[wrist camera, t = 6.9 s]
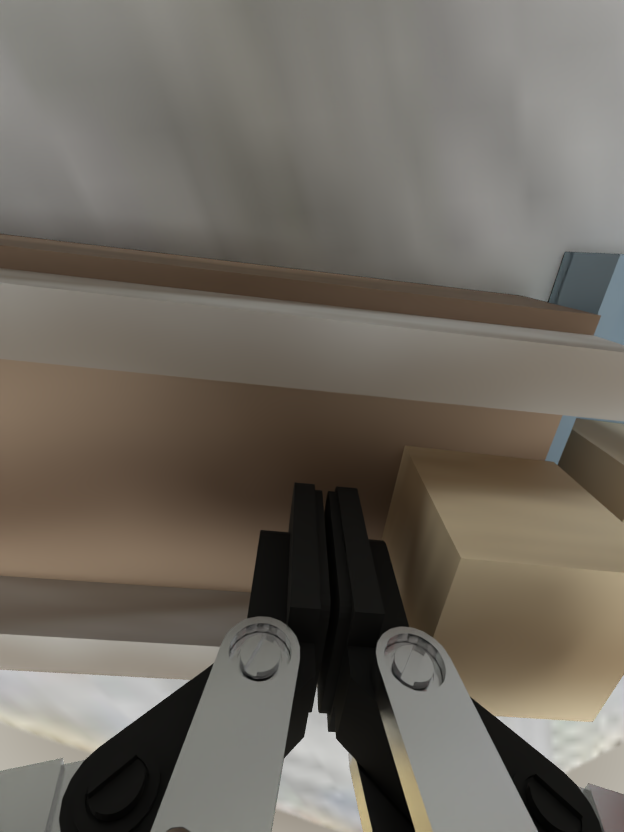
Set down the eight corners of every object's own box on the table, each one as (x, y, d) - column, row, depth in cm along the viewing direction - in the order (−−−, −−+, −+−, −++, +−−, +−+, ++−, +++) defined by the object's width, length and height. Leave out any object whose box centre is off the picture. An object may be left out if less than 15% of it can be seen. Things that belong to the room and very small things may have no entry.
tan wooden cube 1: (404, 445, 11) (461, 557, 7) (553, 461, 12) (686, 578, 8) (375, 565, 13) (407, 710, 9) (505, 577, 13) (592, 721, 9)
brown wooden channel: (-173, 213, 12) (-558, 190, 7) (521, 295, 14) (667, 331, 8) (-71, 529, 17) (-251, 668, 11) (438, 567, 18) (496, 706, 13)
